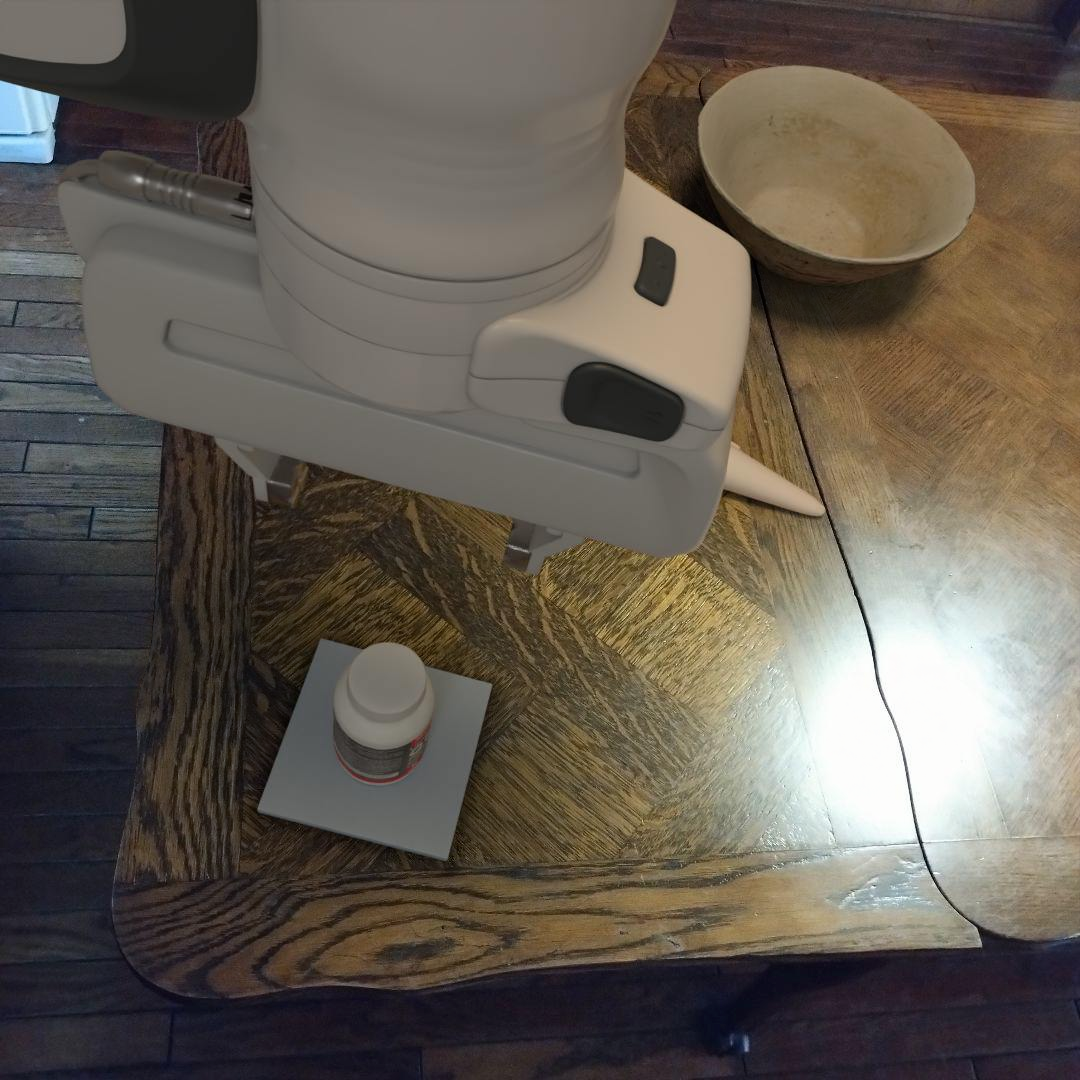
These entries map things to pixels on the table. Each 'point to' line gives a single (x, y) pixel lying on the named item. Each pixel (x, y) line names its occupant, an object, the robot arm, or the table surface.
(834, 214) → the bowl
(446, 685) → the coaster
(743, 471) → the long cone
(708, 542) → the table surface
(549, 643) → the table surface
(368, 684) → the pill bottle
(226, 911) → the table surface
